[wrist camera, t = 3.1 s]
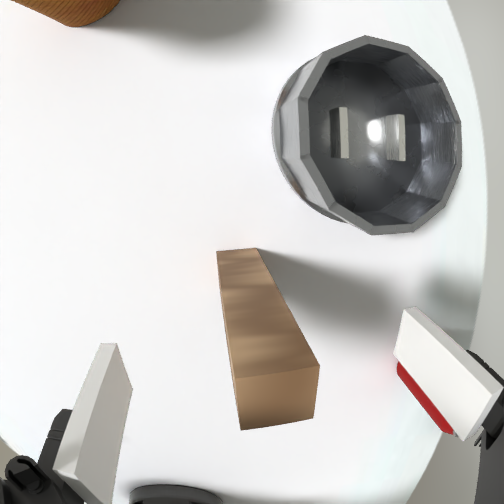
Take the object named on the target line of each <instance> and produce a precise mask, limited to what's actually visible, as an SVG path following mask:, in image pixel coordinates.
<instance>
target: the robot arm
mask: <svg viewBox="0 0 504 504" xmlns="http://www.w3.org/2000/svg"><path fill="white" fill-rule="evenodd" d="M393 355H394V356H395V357H396V358H397V359H398V361H399V362H400V363H401V364H402V365H403V367H404V368H405V369H406V370H407V372H408V373H409V374H410V375H411V376H412V378H413V379H414V380H415V381H416V383H417V384H418V385H419V386H420V388H421V389H422V390H423V391H424V393H425V394H426V395H427V396H428V398H429V399H430V400H431V401H432V403H433V404H434V405H435V406H436V408H437V409H438V410H439V411H440V413H441V414H442V415H443V417H444V418H445V419H446V420H447V422H448V423H449V424H450V426H451V427H452V428H453V430H454V431H455V432H456V433H457V435H458V436H459V437H460V439H461V440H462V441H465V440H467V439H468V438H470V437H472V436H473V435H475V433H476V432H477V431H478V429H479V428H480V426H481V425H482V426H483V427H484V430H483V431H482V433H481V434H480V436H479V437H478V439H477V440H476V441H475V444H474V446H476V445H477V444H478V443H479V441H480V440H481V444H480V445H479V447H481V453H480V466H479V475H478V482H477V489H476V496H475V502H474V504H504V380H503V379H502V378H501V377H500V376H499V375H498V374H497V373H496V372H495V371H494V370H493V369H492V368H489V366H488V364H486V363H484V361H483V360H482V359H481V358H480V357H479V356H478V355H477V354H475V353H473V352H471V351H469V350H466V351H465V350H464V349H463V348H462V347H461V346H460V345H459V344H458V343H456V342H455V341H454V340H453V339H452V338H451V337H450V336H449V335H448V334H446V333H445V332H444V331H443V330H442V329H441V328H440V327H439V326H437V325H436V324H435V323H434V322H433V321H432V320H431V319H429V318H428V317H427V316H426V315H425V314H424V313H423V312H421V311H420V310H419V309H418V308H417V307H412V308H407V309H404V310H403V315H402V320H401V324H400V329H399V333H398V337H397V341H396V345H395V349H394V353H393ZM132 391H133V388H132V386H131V383H130V380H129V378H128V375H127V372H126V369H125V367H124V364H123V361H122V358H121V355H120V352H119V349H118V346H117V343H101V344H100V346H99V349H98V351H97V353H96V355H95V358H94V360H93V362H92V364H91V367H90V369H89V371H88V374H87V376H86V378H85V381H84V383H83V386H82V388H81V391H80V393H79V396H78V398H77V401H76V403H75V406H74V408H73V410H69V409H62V410H61V411H60V412H59V414H58V415H57V416H56V417H55V418H54V421H53V423H52V426H51V430H50V431H49V433H48V436H47V437H48V438H46V441H45V444H44V446H43V449H42V452H41V454H40V457H39V460H38V463H36V462H35V461H34V460H33V459H32V458H30V457H28V456H23V455H21V456H16V457H15V458H13V459H11V460H10V461H9V463H8V464H7V466H6V469H5V476H6V478H7V479H8V480H3V479H2V478H1V477H0V504H84V501H85V502H86V503H87V504H112V498H113V491H114V484H115V477H116V471H117V465H118V459H119V454H120V448H121V443H122V437H123V432H124V427H125V423H126V418H127V413H128V408H129V404H130V399H131V395H132ZM129 504H223V503H222V501H221V499H220V498H219V497H217V496H216V495H214V494H212V493H209V492H206V491H203V490H199V489H195V488H190V487H183V486H173V485H151V486H144V487H140V488H137V489H135V490H133V491H132V492H131V493H130V499H129Z"/></svg>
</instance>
